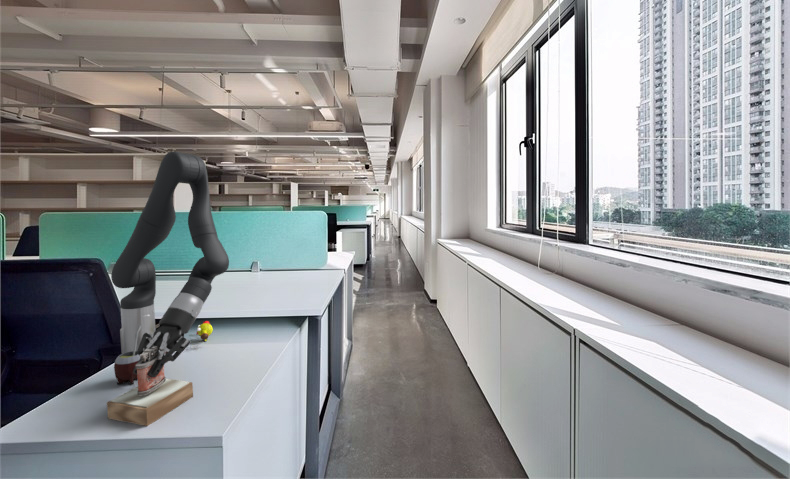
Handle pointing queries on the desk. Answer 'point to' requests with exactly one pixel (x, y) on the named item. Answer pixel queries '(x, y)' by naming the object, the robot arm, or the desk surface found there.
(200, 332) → the toy figure
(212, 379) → the desk surface
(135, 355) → the mate gourd
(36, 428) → the desk surface
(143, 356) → the lighter
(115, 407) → the wooden flat block
